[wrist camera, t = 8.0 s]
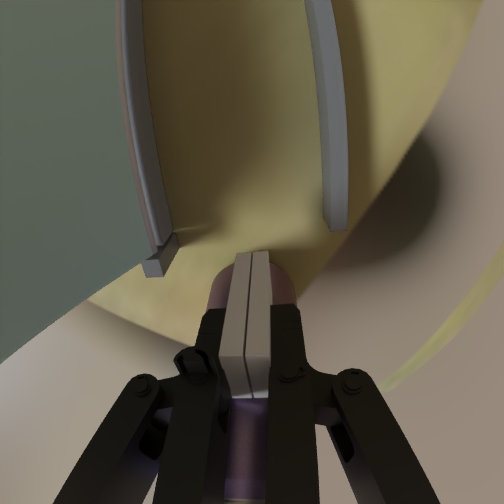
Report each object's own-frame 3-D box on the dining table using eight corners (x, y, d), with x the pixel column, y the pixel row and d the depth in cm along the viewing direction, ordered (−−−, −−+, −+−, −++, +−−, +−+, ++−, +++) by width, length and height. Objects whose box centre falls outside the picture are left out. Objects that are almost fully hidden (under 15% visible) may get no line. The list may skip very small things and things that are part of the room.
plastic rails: (130, -64, 6) (112, -83, 3) (293, -91, 5) (298, -115, 2) (163, 249, 19) (146, 277, 16) (337, 236, 18) (351, 263, 15)
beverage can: (207, 254, 18) (149, 494, 6) (296, 254, 18) (328, 503, 5) (217, 316, 22) (189, 504, 9) (291, 316, 21) (303, 509, 9)
